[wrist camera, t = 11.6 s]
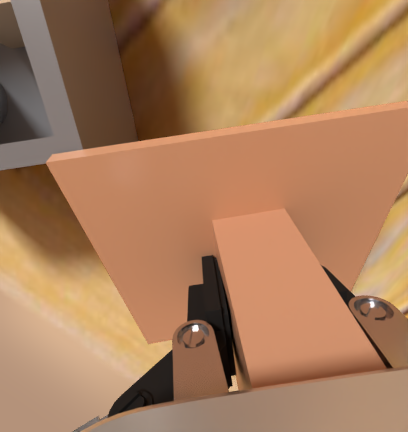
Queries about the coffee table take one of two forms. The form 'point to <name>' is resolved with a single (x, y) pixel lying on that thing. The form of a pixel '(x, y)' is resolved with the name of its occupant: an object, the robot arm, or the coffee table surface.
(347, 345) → the lid
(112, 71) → the storage box
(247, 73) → the coffee table surface
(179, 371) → the robot arm
